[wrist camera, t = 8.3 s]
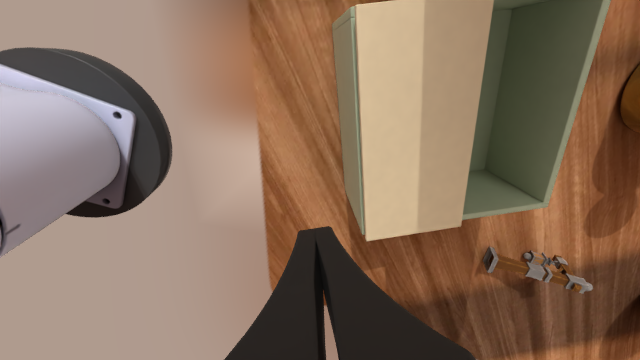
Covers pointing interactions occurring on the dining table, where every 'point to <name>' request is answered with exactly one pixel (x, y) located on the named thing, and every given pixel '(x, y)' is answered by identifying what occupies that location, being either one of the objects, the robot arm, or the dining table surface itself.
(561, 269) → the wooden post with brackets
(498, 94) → the box
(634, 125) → the brass weight
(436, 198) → the door
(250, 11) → the dining table surface
